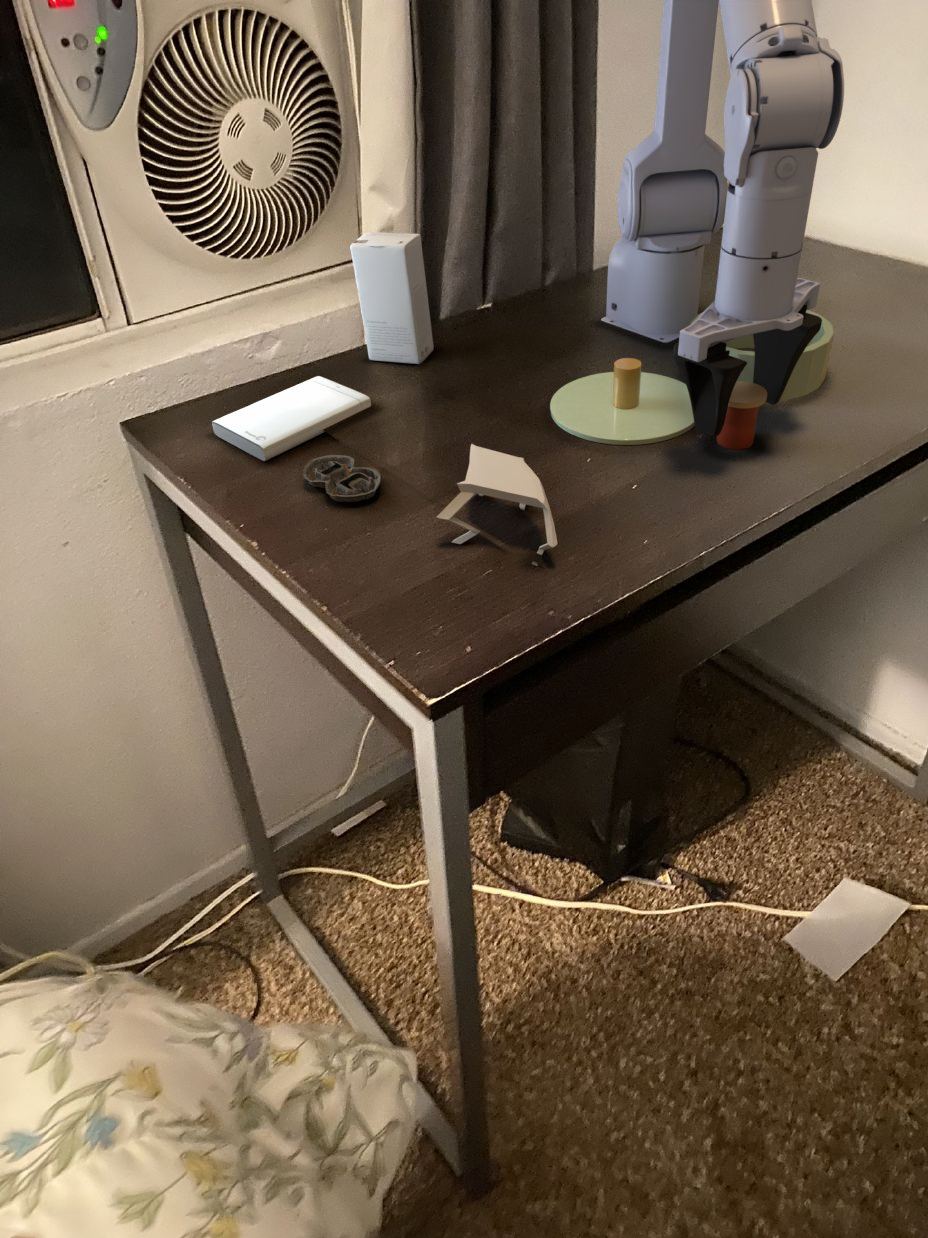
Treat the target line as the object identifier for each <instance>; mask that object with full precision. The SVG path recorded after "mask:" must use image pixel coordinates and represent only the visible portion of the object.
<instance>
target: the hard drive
mask: <svg viewBox="0 0 928 1238" xmlns="http://www.w3.org/2000/svg"><path fill="white" fill-rule="evenodd" d="M370 407H372V401H371V398H370V396H368V395H366V394H364V393H362V392H360V391H357V390H355V389H353V388H350V387H347V386H345V385H344V384H340V383H338V382H336V381H333V380H331V379H328V378H326V377H323V376H320V375H317V376H314V377H312V378H310V379H307V380H305V381H302V382H301V383H299V384H296V385H294V386H291V387H289V388H286V389H284V390H282V391H280V392H277V393H275V394H273V395H270V396H268V397H266V398H263V399H261V400H258V401H256V402H254V403H252V404H250V405H248V406H245V407H243V408H240V409H238V410H236V411H233V412H230V413H228V414H226V415H224V416H222V417H220V418H217V419H215V420H212V421H211V425H212V426H211V427H212V429H213V433H214V435H215V436H217V437H218V438H220V439H222V440H224V441H226V442H227V443H229V444H231V445H233V446H235V447H237V448H238V449H240V450H242V451H244V452H246V453H247V454H249V455H251V456H253V457H254V458H257V459H259V460H260V461H263V462H266V461H268V460H270V459H273V458H275V457H277V456H279V455H281V454H283V453H285V452H287V451H289V450H291V449H293V448H295V447H298V446H299V445H301V444H303V443H306V442H308V441H310V440H312V439H314V438H316V437H317V436H320V435H322V434H324V433H325V432H326V430H325V429H327V428H330V427H331V426H334V425H335V424H337V423H339V422H342V421H343V420H346V419H347V418H350V417H352V416H353V415H356V414H358V413H360V412H362V411H364V410H366V409H369V408H370Z"/></svg>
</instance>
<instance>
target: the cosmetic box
mask: <svg viewBox="0 0 928 1238" xmlns="http://www.w3.org/2000/svg"><path fill="white" fill-rule="evenodd" d="M422 245H423V244H422V236H421V234H420V233H408V232H407V233H405V232H380V231H379V232H377V231H376V232H375V231H366V232H365V233H363V234H362V235H361V236H359V237H358V238H357V239H356V240H354V241H353V242H352V243H351V244H350V246H349V249H350V254H351V260H352V265H353V272H354V277H355V283H356V288H357V295H358V300H359V306H360V313H361V319H362V325H363V329H364V336H365V343H366V348H367V349H366V350H367V354H368V359H369V360H370V361H376V362H388V363H389V362H390V363H399V364H400V363H401V364H412V365H421V364H422V363H423V362H424V361H425V360H426V359H427V358H428V357H429V356H430V355H431V354H432V353H433V351H434V348H435V347H434V346H435V345H434V339H433V333H432V332H433V330H432V322H431V321H432V320H431V314H430V306H429V296H428V287H427V281H426V278H427V277H426V271H425V261H424V255H423V246H422Z"/></svg>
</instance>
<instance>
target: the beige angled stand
mask: <svg viewBox="0 0 928 1238" xmlns="http://www.w3.org/2000/svg"><path fill="white" fill-rule="evenodd" d="M456 485H457V487H458V489H459V491H460V492H459V493H458V494H457V495H456V496H455V497H454V498H453V500H451V502H449V503H448V504H447V505H446V506H445V508H444V509H442V510H441V511H440V512H439V514H438V515H436V517H435V518H436V519H439V520H441V521H444V522H446V523H450V524H451V525H454V526H457V527H459V528H462V529H464V530H467V532H466V533H464V534H462V535H460V536H458V537H456V538H455V539H453V540H451V543H453V544H457V545H461V544H464V543H465V542H467V541H468V540H470V539H472V538H473V537H476V536H477V535H478V534H479V533H480V532H481V530H479V529H478V528H476V527H474V526H472V525H470V524H468V523H467V522H465V521H463V520H461V519H459V518H457V517H455V516H456V515H458V513H459V512H461V510H462V509H463V508H464V507H466V505H467V504H468V503H469V502H470V501H471V500H473V499H474V497H475V496H477V495H478V496H479V497H484V496H488V497H491V498H496V499H500V500H503V501H509V502H513V503H514V502H515V503H518V504H519V509H520V510H522V511H526V510H525V509H526V505H527V506H532V507H536V508H540V509H542V510H543V519H544V526H545V535H546V543H545V544H542V545H539V547H538V550H537V552H536V554H538V555H541V556H543V554H544V553H545V551H546V550H547V551H548V550H550V549H553V548H554V547H557V545H558V538H557V533H556V526H555V522H554V519H553V515H552V510H551V508H550V507H551V506H550V504H549V501H548V497H547V495H546V492H545V488H544V486H543V484H542V482H541V480H540V478H539V477H538V476H537V474H536V473H535V472H534V471H533V469H532V468H531V467H529V465H528V464H527V463H526V462H525V458H524V457H521V456H520V457H519V456H515V455H511V454H507V453H504V452H500V451H496V450H493V449H490V448H485V447H481V446H477V445H475V444H474V443H471V444H470V449H469V463H468V468H467V471H466V476H465V479H464V480H463V481H460V482H457V483H456ZM531 564H532V565H534V566H536V567H537V566H539V563H538V562H536V561H534V560H532V562H531Z"/></svg>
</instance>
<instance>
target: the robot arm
mask: <svg viewBox="0 0 928 1238" xmlns="http://www.w3.org/2000/svg"><path fill="white" fill-rule="evenodd" d="M719 10H720V16H721V23H722V30H723V37H724V42H725V49H726V56H727V62H728V68H729V75H730V79H729V82H728V85H727V88H726V89H727V90H726V95H725V99H724V107H723V108H724V109H723V133H724V134H723V135H724V149H723V147H721V145H720V144H719V143H717V142H716V141H715V140H714V139H712V138H711V137H710V136H709V135H707V134H706V128H707V120H708V110H709V101H710V91H711V90H710V89H711V81H712V80H711V79H712V69H713V61H714V52H715V44H716V43H715V41H716V34H717V33H716V31H717V22H718V15H719V13H718V11H719ZM661 11H662V14H661V28H660V41H659V42H660V43H659V54H658V71H657V85H656V99H655V100H656V101H655V112H654V113H655V114H654V129H653V131H652V132H651V133H650V134H649V135H647V136H646V138H644V139H643V140H642V141H641V142H640V143H638V144H637V145H635V146H634V148H632V149H631V150H629V152H628V153H626V154H625V156H624V160H623V162H622V170H621V179H620V182H619V186H618V193H617V220H618V228H619V233H620V235H621V237H619V238H618V239H617V241H616V242H615V243H614V245H613V247H612V249H611V253H610V254H609V257H608V262H607V281H606V305H605V307H606V308H605V316H604V317H602V318H601V319H600V321H602V322H604V323H607V324H609V325H613V326H615V327H619V328H621V329H624V330H627V331H630V332H633V333H634V334H635V333H636V334H638V335H641V336H643V337H646V338H650V339H653V340H655V341H658V342H662V343H670V342H672V341H674V340H677V339H678V342H676V343H674V345H673V352H672V358H673V360H674V362H675V364H676V366H677V367H678V369H679V371H680V373H681V376H682V378H683V380H684V384H686V386H687V389H688V392H689V396H690V401H691V406H692V412H693V418H694V424H695V426H694V428H695V431H698V432H701V433H703V434H705V435H707V436H710V437H713V438H715V437H717V435H719V434H720V433H721V430H722V428H723V425H724V422H725V418H726V414H727V409H728V404H729V400H730V397H731V394H732V391H733V388H734V386H735V384H736V381H737V379H738V378H739V376H740V374H741V372H742V371H743V369H744V367H745V366H746V364H747V362H746V361H744V360H741V359H738V358H735V357H732V356H729V353H730V351H729V350H727V351H726V345H727V344H726V343H728V342H730V341H733V340H735V339H737V338H739V337H741V336H745V335H750V334H753V338H754V348H753V349H754V350H753V352H755V362H754V374H753V383H755V384H758V385H760V386H762V387H763V388H765V389H766V391H767V399H766V401H765V403H767V404H769V405H773V406H775V405H777V404H778V403H779V402H780V401H779V400H780V398H781V396H782V394H783V392H784V389H785V387H786V385H787V383H788V380H789V378H790V376H791V374H792V372H793V369H794V367H795V365H796V363H797V362H798V360H799V358H800V356H801V355H802V353H803V351H804V350H805V348H806V347H807V345H808V344H809V343H810V341H811V340H812V339H813V337H814V336H815V335H816V334H817V333H818V332H819V330H820V329H821V324H822V319H821V318H820V317H819V316H816V315H812V314H809V313H806V310H809V311H811V310H812V309H814V308H816V307H817V303H818V299H819V298H818V297H819V292H820V287H821V283H820V282H818V281H813V280H810V279H806V278H802V277H798V276H799V275H798V274H799V269H800V264H801V258H802V252H803V246H804V239H805V233H806V228H807V223H808V218H809V217H808V216H809V210H810V204H811V199H812V192H813V187H814V181H815V175H816V169H817V163H818V158H819V152H818V150H817V149H819V150H825V148H827V147H828V146H829V145H830V144H831V142H832V141H833V140H834V137H835V136H836V133H837V131H838V128H839V125H840V121H841V118H842V112H843V107H844V100H845V99H844V98H845V75H844V65H843V60H842V57H841V55H840V54H839V52H838V51H837V50H836V49H834V48H832V47H831V46H830V42H829V39H828V38H826V37H820V36H818V31H817V25H816V20H815V14H814V9H813V2H812V0H662V10H661ZM721 228H722V235H721V244H720V252H719V262H718V269H717V271H718V272H717V279H716V288H715V289H716V290H715V297H714V301H712V302H711V303H710V305H708V307H706V309H705V310H704V311H703V313H702V312H701V313H702V314H701V315H700V316H699V317H698V318H697V319H696V320H695V321H694V322H693V323H692V324H691V322H692V321H693V320H694V319H695V318H696V317H697V315H698V314H699V304H700V296H701V295H700V294H701V288H702V287H701V286H702V285H701V284H702V275H703V267H704V266H703V265H704V257H705V246H706V245H710V244H711V243H712V235H716V234H718V232H719V231H720V229H721Z"/></svg>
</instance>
